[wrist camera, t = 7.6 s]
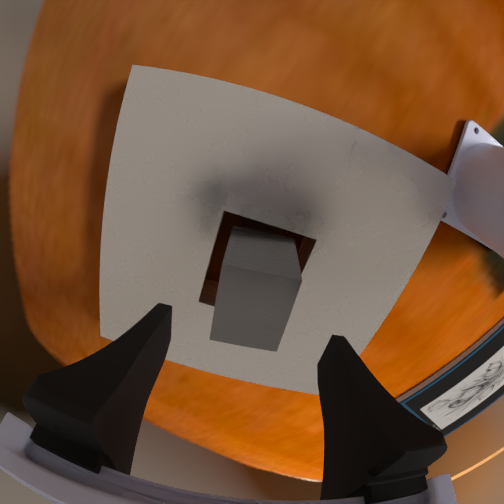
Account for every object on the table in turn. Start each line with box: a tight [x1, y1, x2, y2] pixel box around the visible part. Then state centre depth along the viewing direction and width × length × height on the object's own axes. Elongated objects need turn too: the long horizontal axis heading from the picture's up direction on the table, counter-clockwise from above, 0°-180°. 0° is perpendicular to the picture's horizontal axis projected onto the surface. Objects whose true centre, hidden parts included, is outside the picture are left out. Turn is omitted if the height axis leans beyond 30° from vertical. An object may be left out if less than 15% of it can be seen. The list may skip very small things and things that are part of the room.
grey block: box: [209, 216, 302, 352], centre depth 17 cm, size 4×4×8 cm
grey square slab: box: [99, 65, 457, 395], centre depth 19 cm, size 20×20×3 cm
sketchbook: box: [396, 318, 504, 437], centre depth 27 cm, size 22×30×2 cm
